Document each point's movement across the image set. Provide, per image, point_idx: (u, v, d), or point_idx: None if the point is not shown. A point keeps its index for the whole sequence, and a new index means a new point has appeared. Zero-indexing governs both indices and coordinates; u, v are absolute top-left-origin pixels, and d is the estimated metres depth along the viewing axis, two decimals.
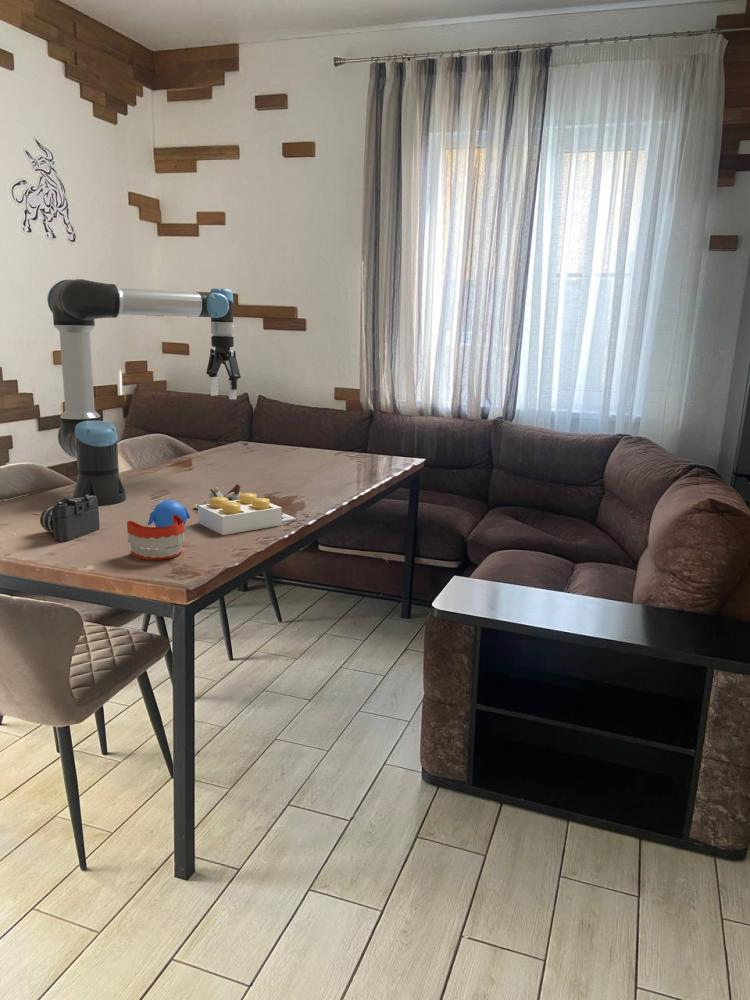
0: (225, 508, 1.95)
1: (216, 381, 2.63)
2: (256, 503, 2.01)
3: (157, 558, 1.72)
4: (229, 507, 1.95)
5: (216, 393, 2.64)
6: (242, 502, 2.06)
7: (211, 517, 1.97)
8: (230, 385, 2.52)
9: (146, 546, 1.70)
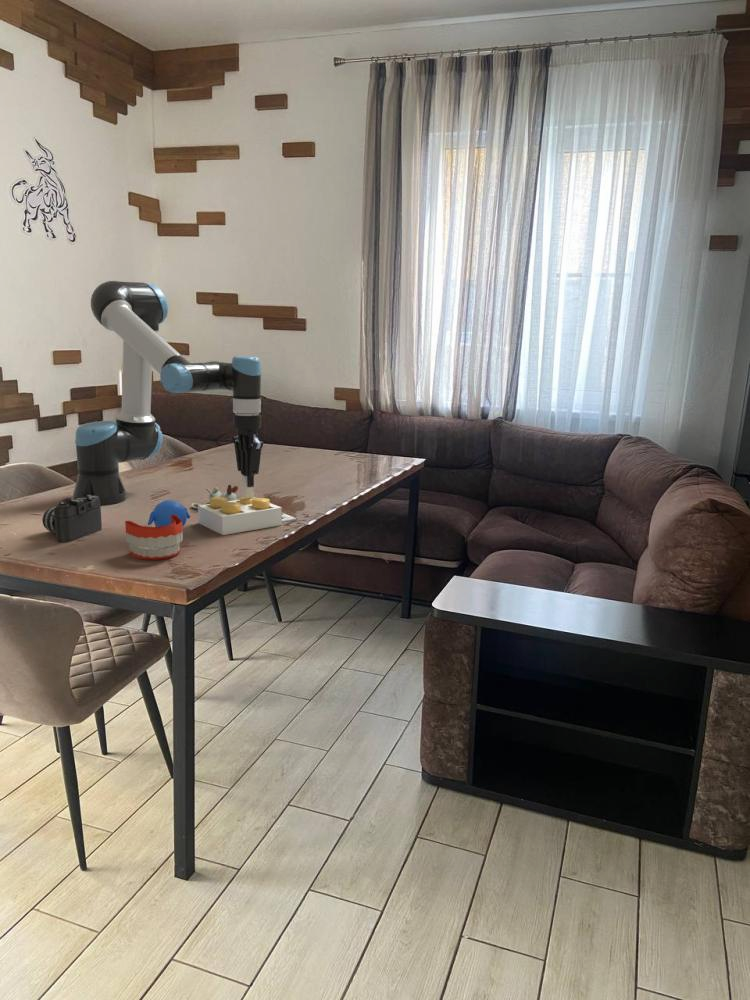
0: (225, 508, 1.95)
1: None
2: (256, 503, 2.01)
3: (155, 558, 1.72)
4: (229, 507, 1.95)
5: None
6: None
7: (211, 517, 1.97)
8: (246, 482, 2.06)
9: (144, 546, 1.70)
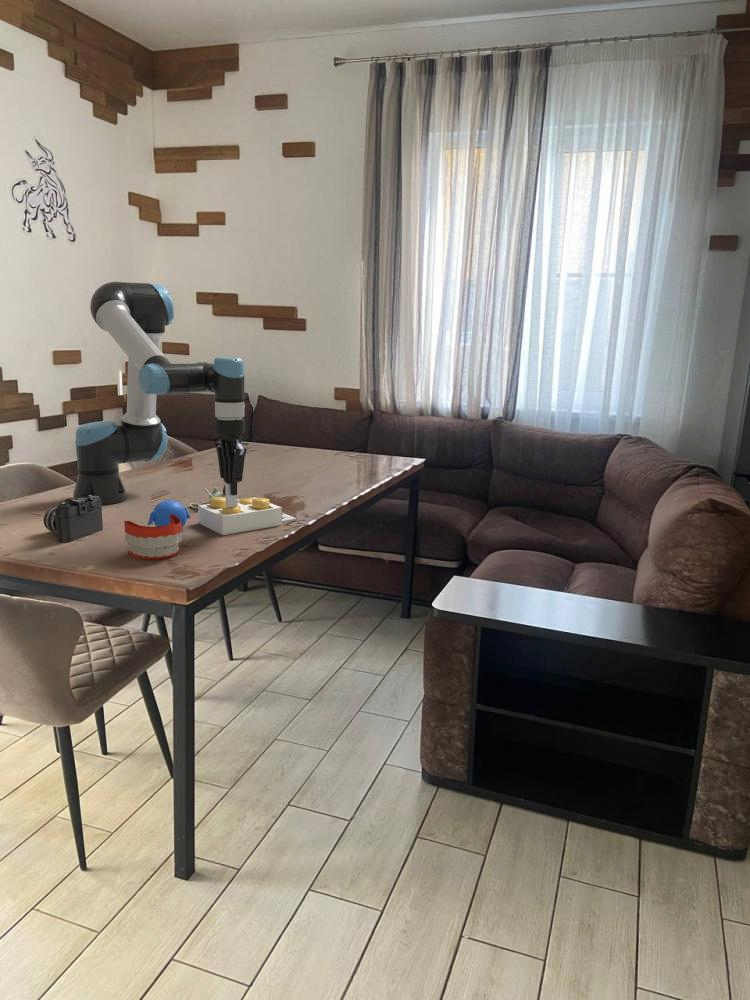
0: (225, 511, 1.95)
1: None
2: (256, 503, 2.01)
3: (155, 557, 1.72)
4: (229, 510, 1.95)
5: None
6: None
7: (211, 517, 1.97)
8: (229, 490, 1.95)
9: (144, 545, 1.70)
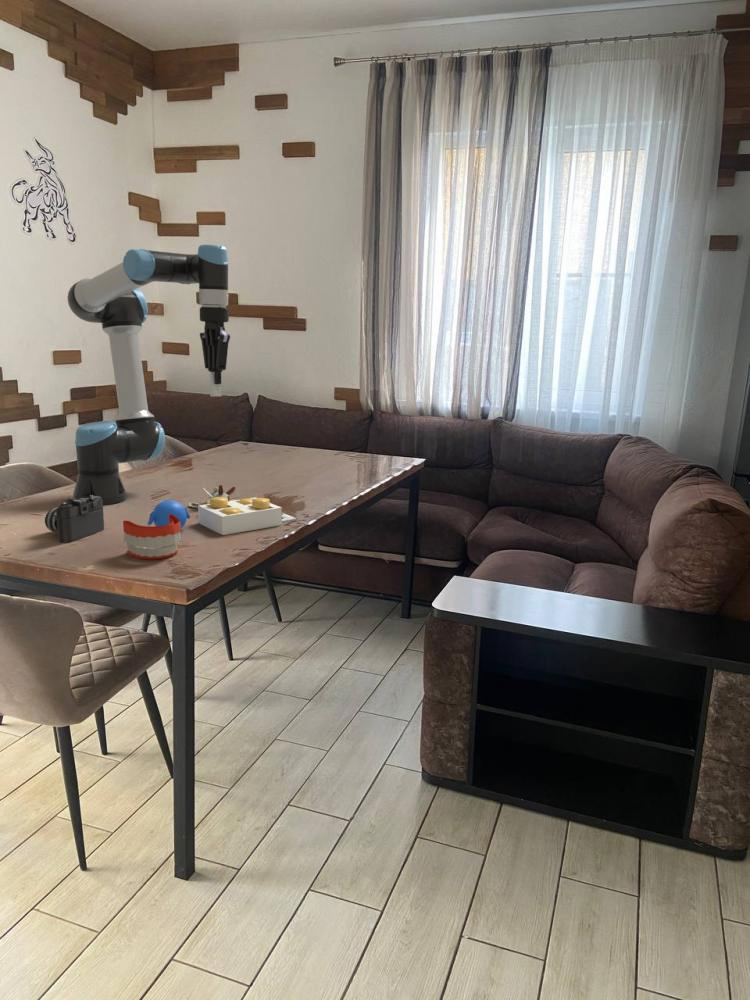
0: None
1: None
2: (256, 503, 2.01)
3: (154, 557, 1.72)
4: (229, 513, 1.95)
5: None
6: None
7: (211, 517, 1.97)
8: (213, 378, 1.99)
9: (143, 545, 1.70)
